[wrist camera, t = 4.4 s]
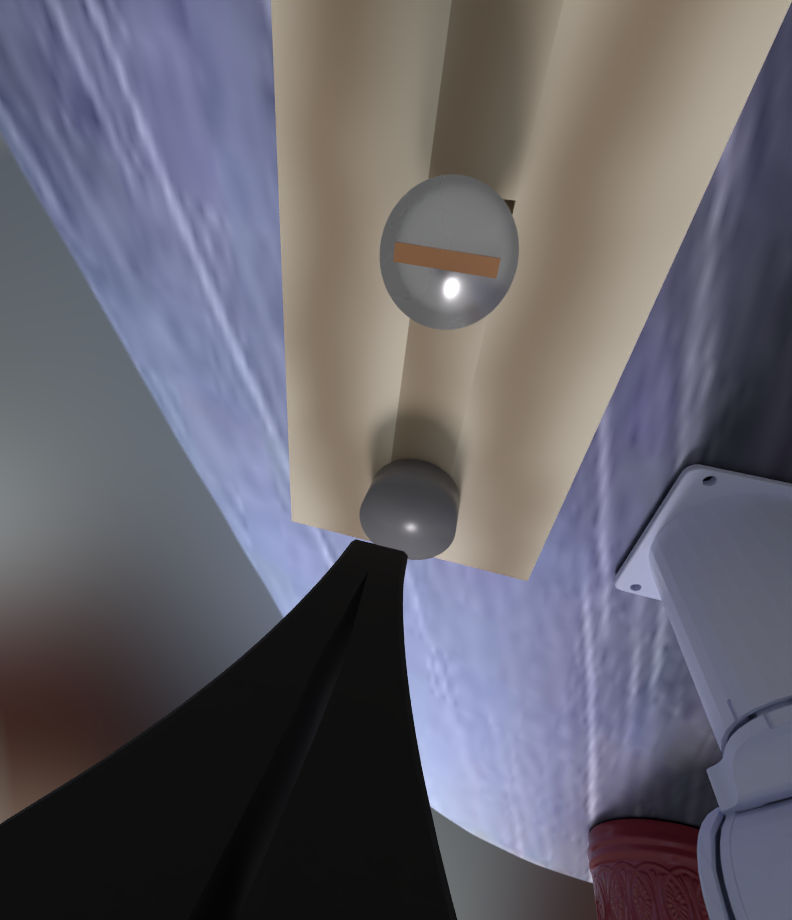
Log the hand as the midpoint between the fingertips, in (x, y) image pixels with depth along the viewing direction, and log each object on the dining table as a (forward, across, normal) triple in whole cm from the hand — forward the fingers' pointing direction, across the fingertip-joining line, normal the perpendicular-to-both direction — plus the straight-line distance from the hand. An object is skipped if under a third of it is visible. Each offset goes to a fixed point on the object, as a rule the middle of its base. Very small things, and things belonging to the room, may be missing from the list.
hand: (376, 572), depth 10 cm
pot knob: (+7, 0, -7) cm, 10 cm away
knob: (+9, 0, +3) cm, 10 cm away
